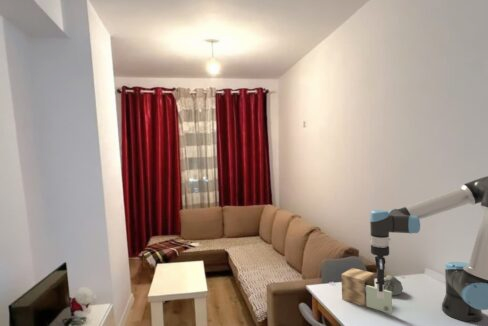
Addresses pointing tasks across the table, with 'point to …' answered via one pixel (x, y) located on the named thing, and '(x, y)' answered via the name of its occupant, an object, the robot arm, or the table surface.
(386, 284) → the stone
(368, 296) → the door
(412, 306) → the table surface
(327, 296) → the table surface
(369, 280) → the cabinet
